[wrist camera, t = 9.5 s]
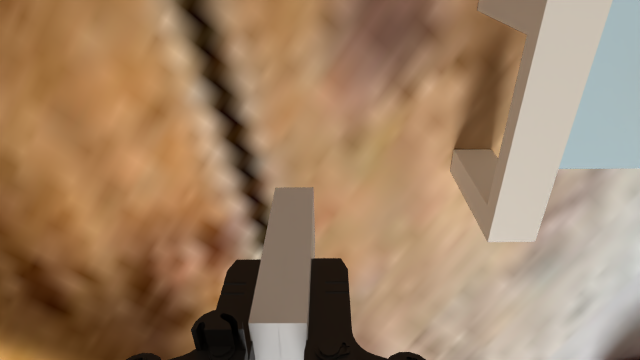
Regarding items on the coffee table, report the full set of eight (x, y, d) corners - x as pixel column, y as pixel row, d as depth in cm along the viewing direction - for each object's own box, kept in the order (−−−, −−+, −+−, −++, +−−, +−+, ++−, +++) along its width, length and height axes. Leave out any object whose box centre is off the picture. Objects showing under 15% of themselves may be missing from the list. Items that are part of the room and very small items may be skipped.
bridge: (450, 171, 34) (487, 241, 26) (482, -23, 27) (548, -6, 19) (486, 170, 34) (534, 241, 26) (529, -24, 27) (614, -7, 19)
